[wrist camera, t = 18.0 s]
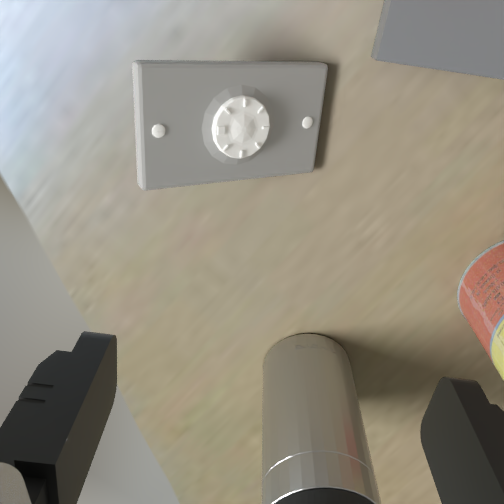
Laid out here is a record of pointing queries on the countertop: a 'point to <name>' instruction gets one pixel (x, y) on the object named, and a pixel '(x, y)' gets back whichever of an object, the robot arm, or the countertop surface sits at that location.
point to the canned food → (486, 301)
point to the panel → (443, 35)
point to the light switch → (225, 120)
